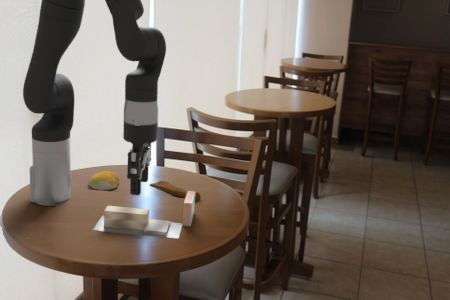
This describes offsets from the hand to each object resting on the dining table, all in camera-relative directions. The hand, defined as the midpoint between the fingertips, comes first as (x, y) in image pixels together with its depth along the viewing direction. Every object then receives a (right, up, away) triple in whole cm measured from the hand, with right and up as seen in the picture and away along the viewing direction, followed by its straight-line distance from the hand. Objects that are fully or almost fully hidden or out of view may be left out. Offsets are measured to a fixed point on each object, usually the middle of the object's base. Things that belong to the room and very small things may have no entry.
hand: (139, 187), depth 108 cm
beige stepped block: (-1, -9, +3) cm, 10 cm away
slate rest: (-1, -10, +3) cm, 11 cm away
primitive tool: (+5, -4, +28) cm, 29 cm away
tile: (+11, -10, +10) cm, 17 cm away
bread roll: (-16, -2, +29) cm, 33 cm away
